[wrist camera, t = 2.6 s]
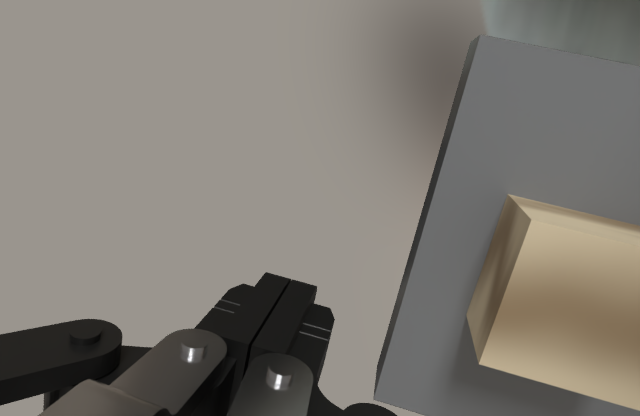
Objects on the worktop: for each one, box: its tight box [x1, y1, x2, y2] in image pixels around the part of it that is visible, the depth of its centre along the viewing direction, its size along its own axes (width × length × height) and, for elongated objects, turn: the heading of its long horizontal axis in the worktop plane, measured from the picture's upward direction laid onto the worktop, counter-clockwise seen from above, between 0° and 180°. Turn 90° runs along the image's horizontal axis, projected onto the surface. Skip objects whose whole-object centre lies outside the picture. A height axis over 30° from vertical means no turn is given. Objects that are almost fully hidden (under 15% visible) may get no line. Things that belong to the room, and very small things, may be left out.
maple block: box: [466, 194, 640, 411], centre depth 18 cm, size 6×6×4 cm
